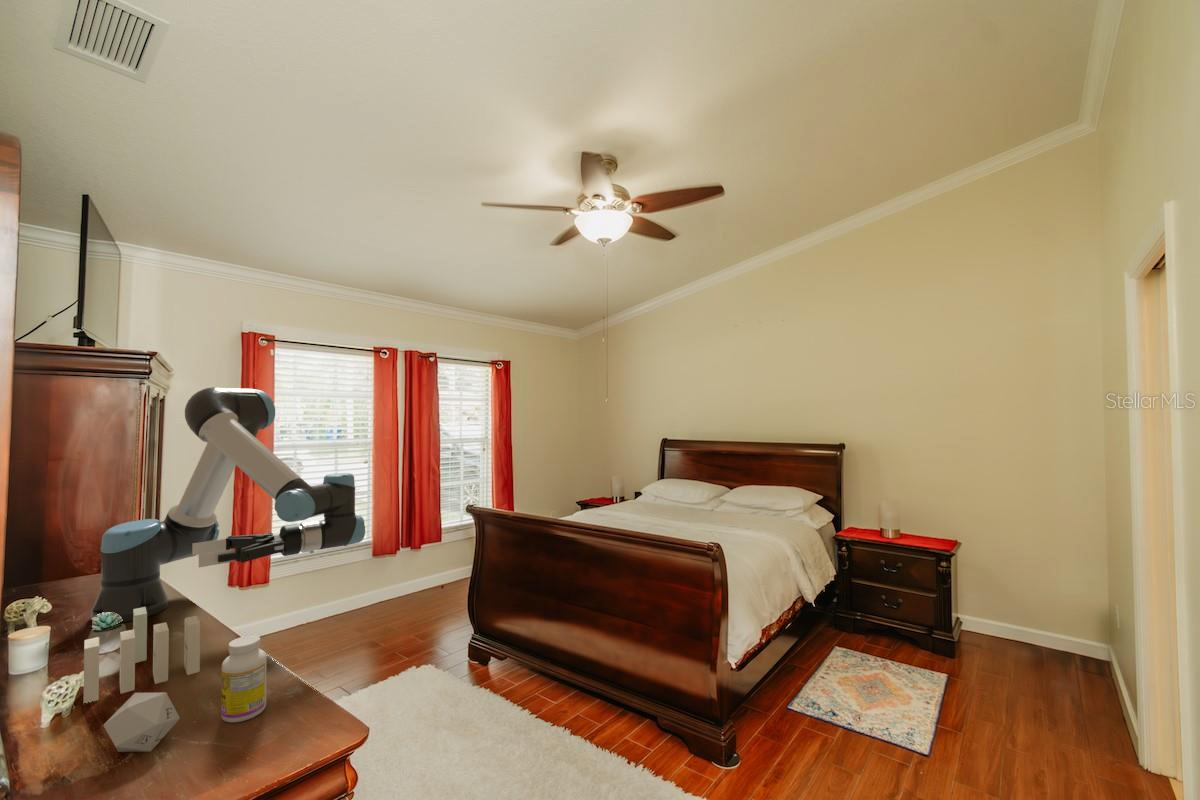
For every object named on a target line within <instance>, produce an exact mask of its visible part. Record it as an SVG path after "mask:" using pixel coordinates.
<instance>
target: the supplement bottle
mask: <svg viewBox="0 0 1200 800" xmlns="http://www.w3.org/2000/svg"><path fill="white" fill-rule="evenodd" d="M260 647H261V636H259V635H254V634H252V635H244V636H239V637H237V638H235V639H233V640H231V641H230V642H229V643H228V649H227V650H228V652H229V655H228V656H226V658H225V659H224V660H223V661H222V664H221V688H220V689H221V692H220V695H221V696H220V697H221V699H220V701H221V702H220V703H221V704H220V705H221V706H220V709H221V711H220V712H221V715H220V716H221V719H222V721H224V722H226V723H230V724H231V723H235V724H236V723H240V722H245V721H248V720H251V719H253V718H255V717H257V716H258V715H259V714H261V713H262V712H263V711H264V710H265V709H266V706H267V653H266V651H264V650H263V649H261V648H260Z"/></svg>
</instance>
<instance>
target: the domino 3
mask: <svg viewBox="0 0 1200 800" xmlns="http://www.w3.org/2000/svg"><path fill="white" fill-rule="evenodd" d="M133 629H134V633H135V664H136V663H137V664H138V663H140V662H146V661H147V655H148V654H147V651H148V649H147V643H148V642H147V641H148V617H147V611H146V607H142V608H137V609H133V621H132V630H133Z"/></svg>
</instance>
